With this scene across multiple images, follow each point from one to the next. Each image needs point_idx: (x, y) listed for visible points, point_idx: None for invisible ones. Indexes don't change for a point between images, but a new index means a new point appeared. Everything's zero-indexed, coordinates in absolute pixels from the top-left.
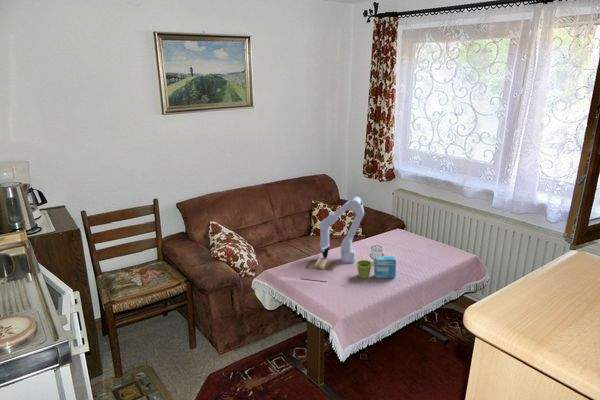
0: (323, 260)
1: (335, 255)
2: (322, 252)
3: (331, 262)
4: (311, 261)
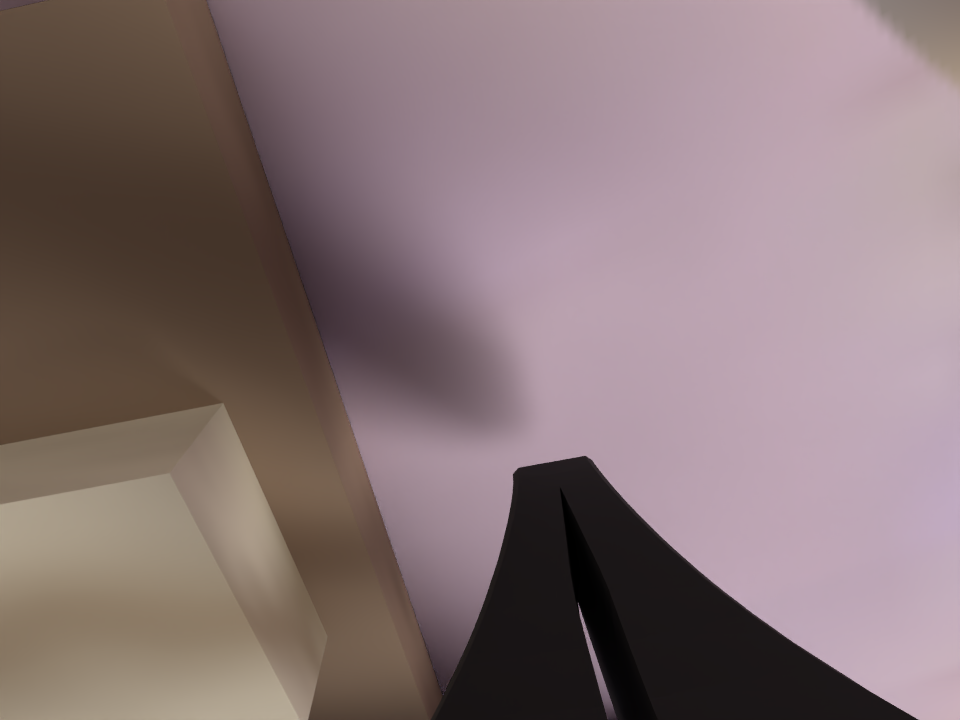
0: (146, 668)
1: (940, 531)
2: (456, 696)
3: (372, 700)
4: (16, 138)
